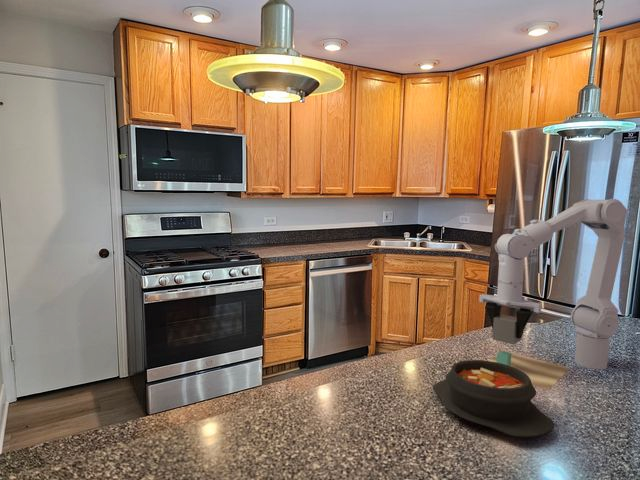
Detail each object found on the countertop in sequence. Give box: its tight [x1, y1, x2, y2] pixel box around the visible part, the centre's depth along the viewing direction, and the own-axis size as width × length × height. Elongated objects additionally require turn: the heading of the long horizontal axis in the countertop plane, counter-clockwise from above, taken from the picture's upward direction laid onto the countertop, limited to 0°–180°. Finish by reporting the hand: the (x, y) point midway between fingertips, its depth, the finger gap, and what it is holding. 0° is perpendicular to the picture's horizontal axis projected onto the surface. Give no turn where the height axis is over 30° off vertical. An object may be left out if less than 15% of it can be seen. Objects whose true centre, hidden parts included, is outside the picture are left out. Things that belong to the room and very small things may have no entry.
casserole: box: [432, 359, 555, 438], centre depth 85 cm, size 25×19×8 cm
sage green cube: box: [496, 350, 512, 366], centre depth 106 cm, size 3×3×4 cm
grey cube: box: [492, 313, 522, 345], centre depth 106 cm, size 5×5×6 cm
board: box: [487, 352, 571, 390], centre depth 107 cm, size 18×17×1 cm
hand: (507, 334), depth 106 cm, fingers closed on grey cube, 5 cm apart
